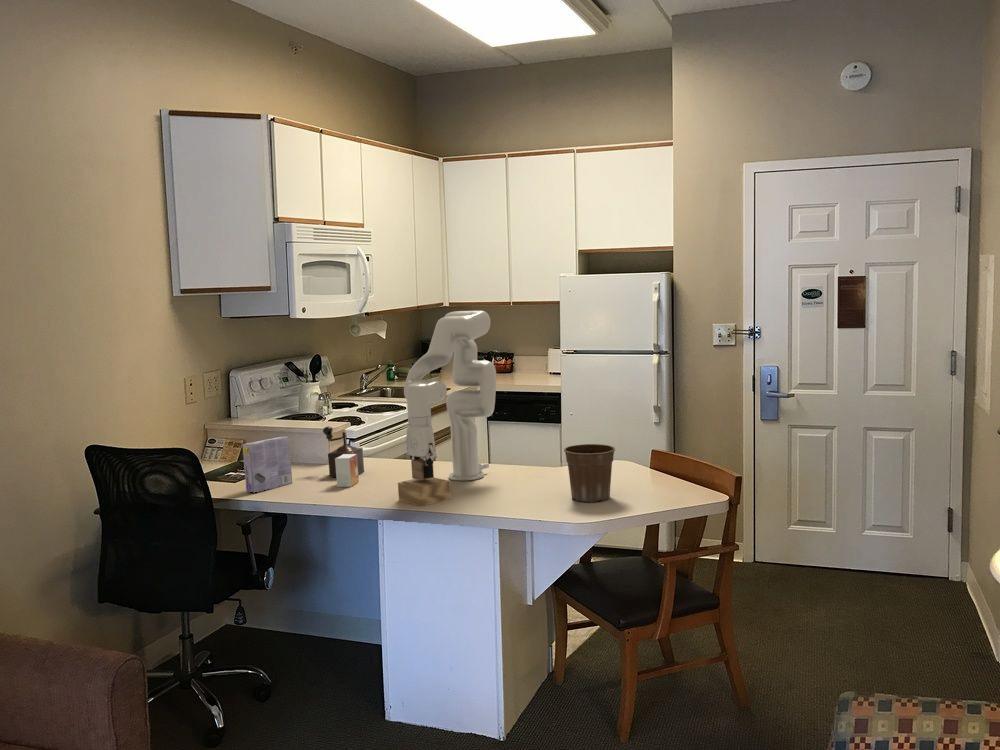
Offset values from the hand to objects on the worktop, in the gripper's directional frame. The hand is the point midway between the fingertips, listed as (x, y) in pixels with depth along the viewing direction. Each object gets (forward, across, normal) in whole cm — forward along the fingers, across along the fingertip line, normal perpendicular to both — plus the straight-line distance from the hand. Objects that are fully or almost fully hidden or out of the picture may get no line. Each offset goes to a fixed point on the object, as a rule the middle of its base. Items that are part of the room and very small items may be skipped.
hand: (423, 475), depth 299 cm
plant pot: (+8, +43, +34) cm, 55 cm away
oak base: (+8, 0, 0) cm, 8 cm away
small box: (+8, -41, -3) cm, 42 cm away
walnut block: (+1, 0, 0) cm, 1 cm away
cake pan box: (+8, -61, -23) cm, 66 cm away
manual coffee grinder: (+8, -58, +5) cm, 59 cm away
